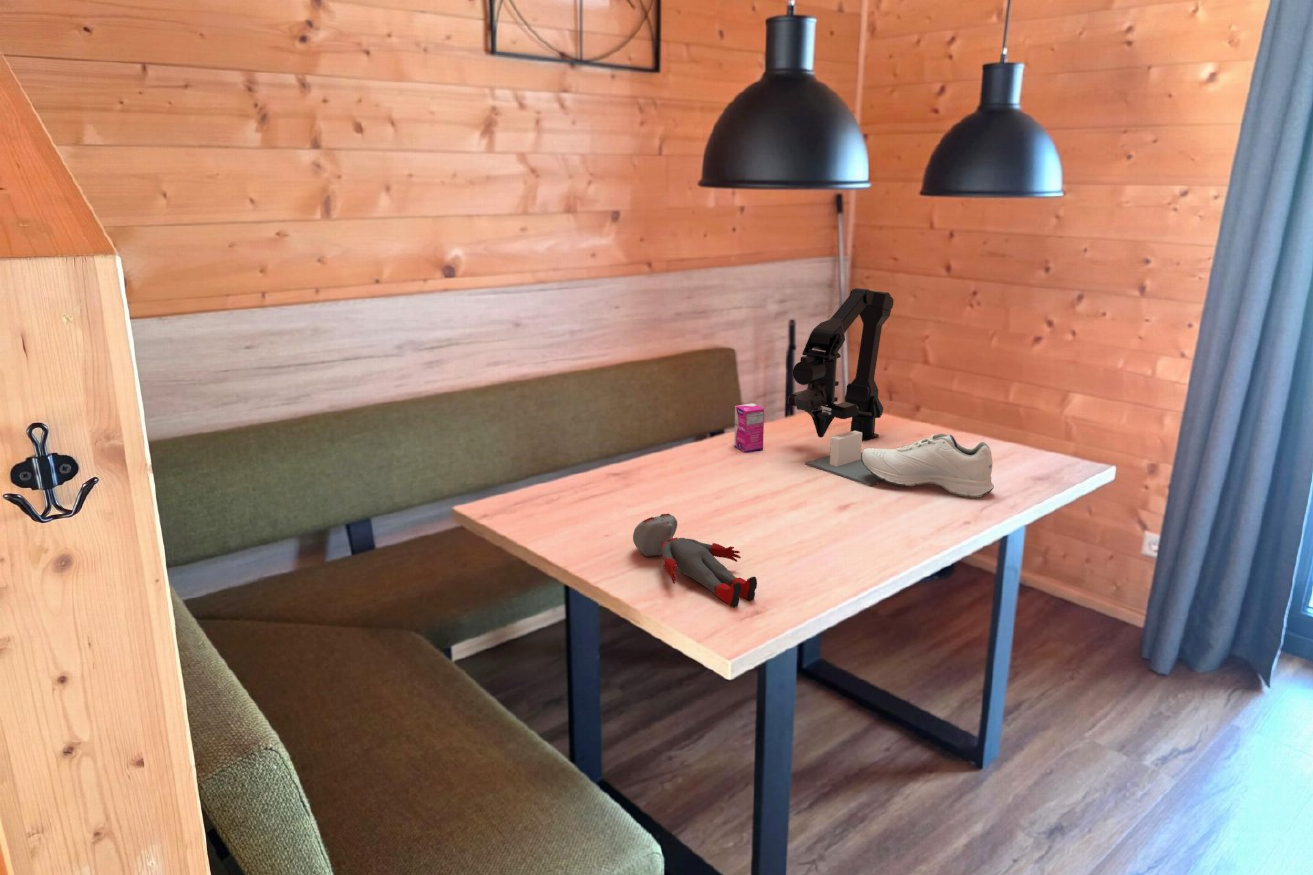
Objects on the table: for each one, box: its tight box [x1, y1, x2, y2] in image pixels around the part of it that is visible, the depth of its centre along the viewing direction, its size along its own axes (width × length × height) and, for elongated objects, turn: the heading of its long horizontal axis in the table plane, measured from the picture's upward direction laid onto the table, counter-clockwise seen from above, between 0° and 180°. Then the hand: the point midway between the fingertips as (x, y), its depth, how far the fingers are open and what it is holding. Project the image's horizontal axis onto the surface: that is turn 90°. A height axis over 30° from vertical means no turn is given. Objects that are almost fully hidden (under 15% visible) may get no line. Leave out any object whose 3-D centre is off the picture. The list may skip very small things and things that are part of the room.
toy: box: [632, 513, 758, 608], centre depth 169 cm, size 16×10×30 cm
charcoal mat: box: [804, 451, 885, 487], centre depth 226 cm, size 17×20×1 cm
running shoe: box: [861, 433, 995, 499], centre depth 212 cm, size 11×30×13 cm, turn 72°
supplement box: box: [733, 402, 765, 454], centre depth 239 cm, size 6×6×12 cm
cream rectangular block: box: [829, 430, 863, 467], centre depth 228 cm, size 9×3×7 cm, turn 129°
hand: (820, 437), depth 234 cm, fingers closed
